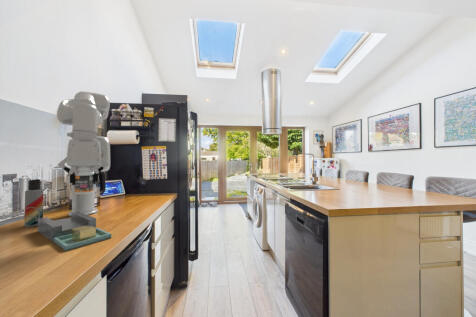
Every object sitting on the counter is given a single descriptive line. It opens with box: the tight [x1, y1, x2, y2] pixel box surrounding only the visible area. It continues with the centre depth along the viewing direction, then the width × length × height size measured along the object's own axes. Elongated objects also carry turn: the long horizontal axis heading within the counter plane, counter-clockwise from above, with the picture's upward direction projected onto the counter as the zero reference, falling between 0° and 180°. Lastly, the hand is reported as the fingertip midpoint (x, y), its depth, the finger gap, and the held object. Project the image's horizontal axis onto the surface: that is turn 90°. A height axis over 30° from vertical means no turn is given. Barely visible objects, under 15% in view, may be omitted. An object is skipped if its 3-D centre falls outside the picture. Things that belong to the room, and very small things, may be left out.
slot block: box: [37, 212, 97, 243], centre depth 79 cm, size 19×13×5 cm
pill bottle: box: [74, 167, 94, 194], centre depth 76 cm, size 6×6×10 cm
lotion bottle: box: [23, 178, 44, 228], centre depth 87 cm, size 6×6×20 cm
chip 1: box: [72, 226, 89, 241], centre depth 71 cm, size 4×4×4 cm
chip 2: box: [76, 226, 97, 242], centre depth 69 cm, size 4×4×4 cm
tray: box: [53, 227, 112, 252], centre depth 70 cm, size 12×13×2 cm
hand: (84, 183), depth 76 cm, fingers closed on pill bottle, 5 cm apart
